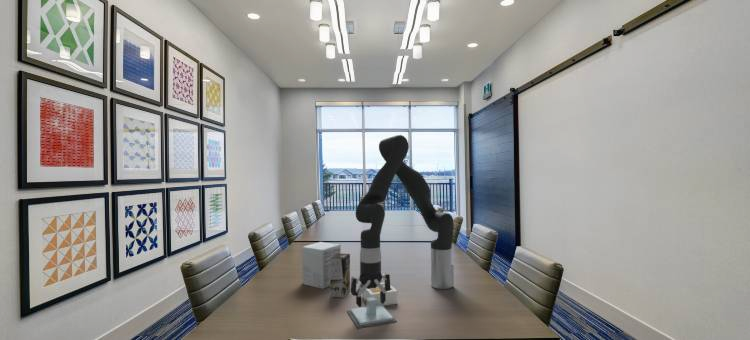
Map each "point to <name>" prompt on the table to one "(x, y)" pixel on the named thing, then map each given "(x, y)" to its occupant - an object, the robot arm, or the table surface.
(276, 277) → the table surface
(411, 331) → the table surface
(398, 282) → the table surface
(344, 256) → the coffee box
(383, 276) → the robot arm
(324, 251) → the supplement box
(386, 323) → the mat
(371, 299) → the lid
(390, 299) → the dish
